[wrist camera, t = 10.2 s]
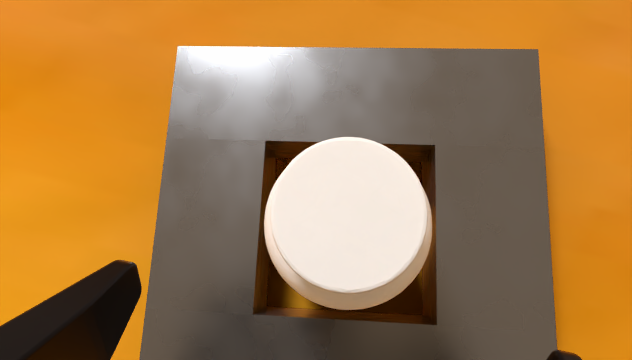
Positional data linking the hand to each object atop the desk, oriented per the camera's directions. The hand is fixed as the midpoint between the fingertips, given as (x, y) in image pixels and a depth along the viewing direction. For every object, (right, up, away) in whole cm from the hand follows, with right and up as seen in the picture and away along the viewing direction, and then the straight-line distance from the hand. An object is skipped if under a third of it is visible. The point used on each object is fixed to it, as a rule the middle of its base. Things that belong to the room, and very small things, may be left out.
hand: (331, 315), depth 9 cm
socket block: (+1, 0, +11) cm, 11 cm away
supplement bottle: (+1, 0, +11) cm, 11 cm away
